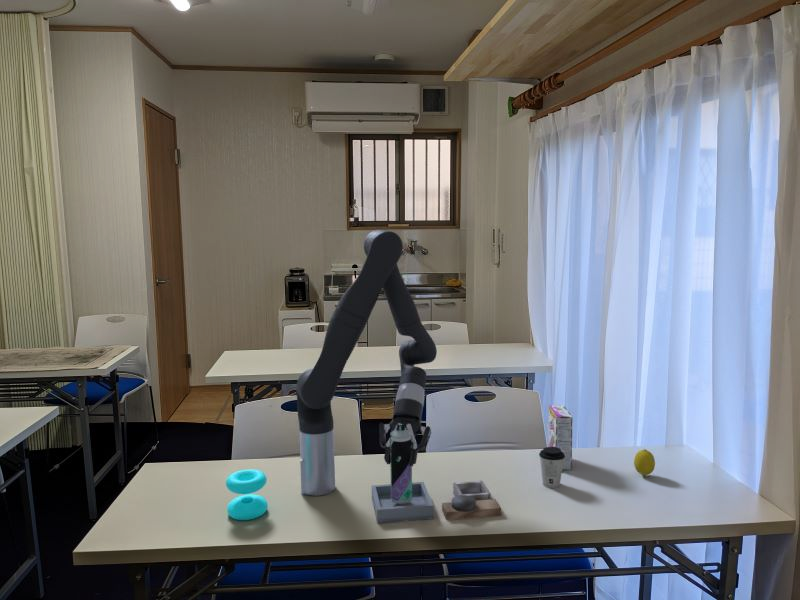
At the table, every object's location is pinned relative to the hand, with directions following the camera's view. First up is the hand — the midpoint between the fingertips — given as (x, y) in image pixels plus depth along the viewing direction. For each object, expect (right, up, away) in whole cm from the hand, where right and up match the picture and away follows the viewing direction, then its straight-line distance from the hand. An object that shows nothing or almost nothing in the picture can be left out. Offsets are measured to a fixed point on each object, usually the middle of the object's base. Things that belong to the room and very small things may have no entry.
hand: (399, 463), depth 159 cm
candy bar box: (+48, -8, +31) cm, 58 cm away
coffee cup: (+42, -10, +16) cm, 46 cm away
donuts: (-39, -13, +2) cm, 41 cm away
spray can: (0, -10, +3) cm, 11 cm away
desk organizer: (+18, -12, +4) cm, 22 cm away
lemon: (+70, -9, +21) cm, 73 cm away
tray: (0, -12, +3) cm, 13 cm away
